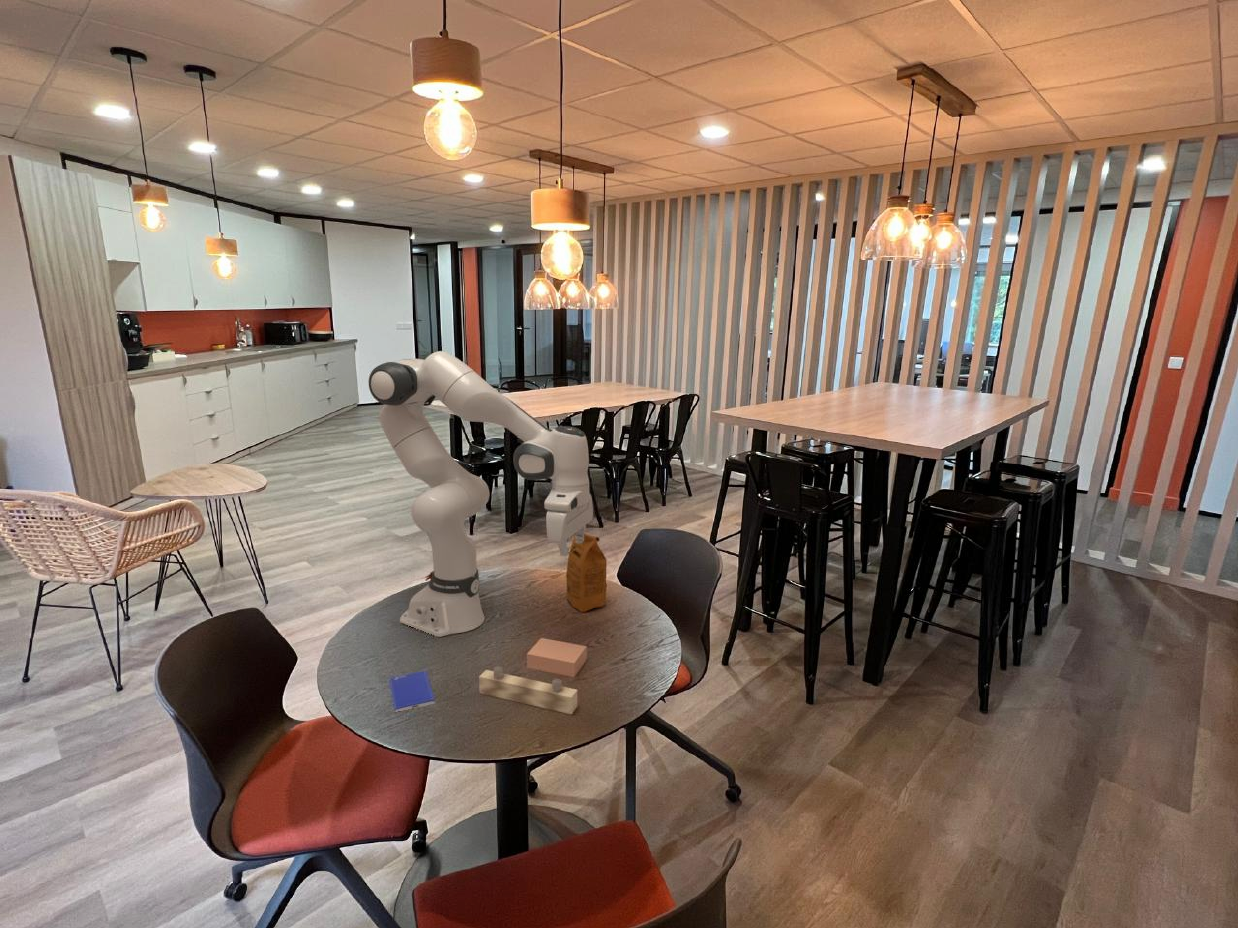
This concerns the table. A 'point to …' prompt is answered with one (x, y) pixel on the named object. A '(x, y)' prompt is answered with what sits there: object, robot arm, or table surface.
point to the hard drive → (411, 691)
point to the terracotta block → (557, 657)
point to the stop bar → (528, 691)
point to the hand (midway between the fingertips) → (572, 548)
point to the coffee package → (586, 574)
